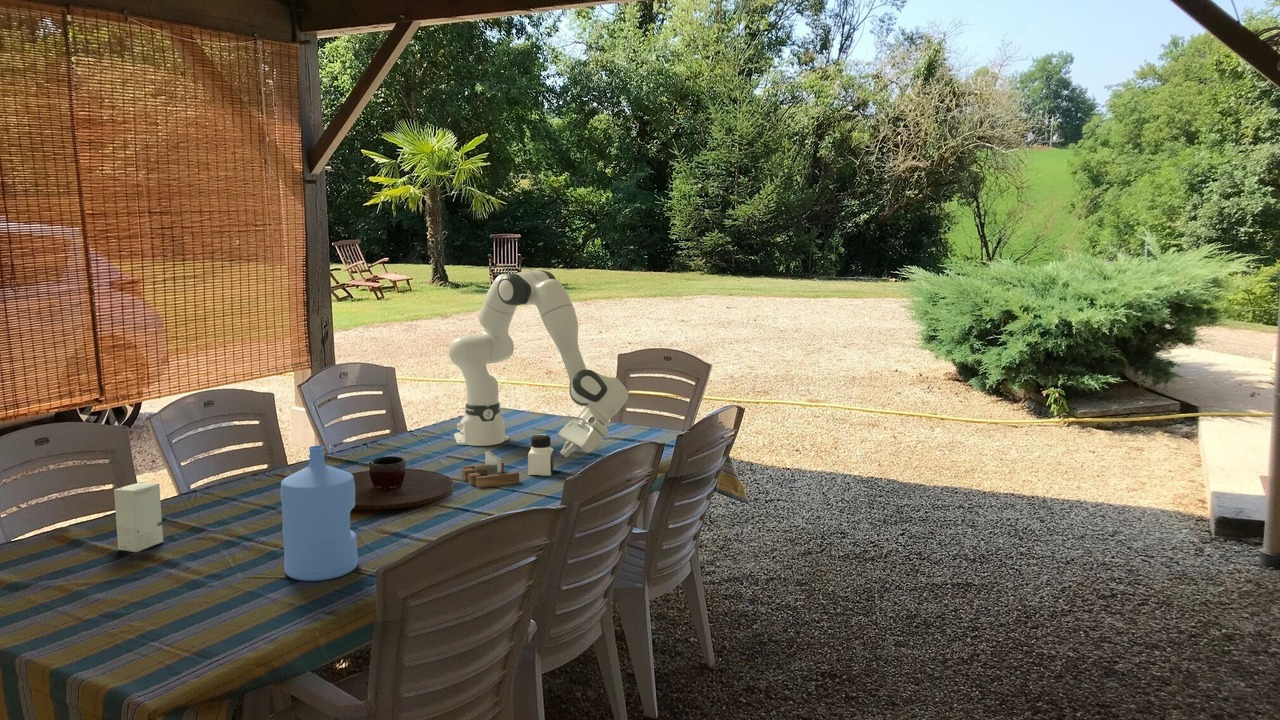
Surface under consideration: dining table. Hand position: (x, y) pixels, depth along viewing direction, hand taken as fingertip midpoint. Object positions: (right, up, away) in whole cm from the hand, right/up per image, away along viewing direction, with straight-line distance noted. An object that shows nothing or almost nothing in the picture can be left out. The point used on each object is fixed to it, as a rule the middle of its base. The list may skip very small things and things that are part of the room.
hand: (563, 455), depth 289 cm
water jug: (-47, -17, -84) cm, 98 cm away
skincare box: (-95, -15, -70) cm, 119 cm away
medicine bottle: (-7, -5, -3) cm, 9 cm away
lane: (-21, -6, -10) cm, 24 cm away
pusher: (-23, -6, -11) cm, 26 cm away
